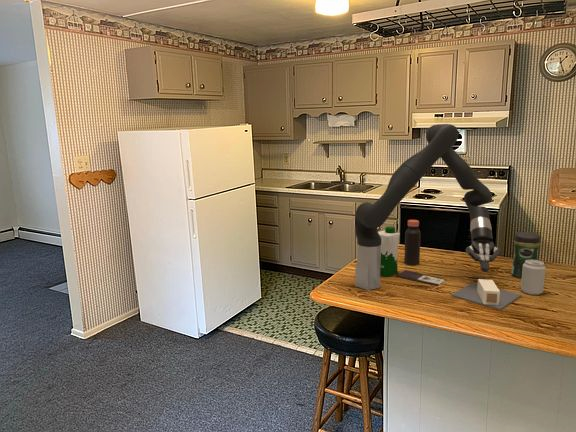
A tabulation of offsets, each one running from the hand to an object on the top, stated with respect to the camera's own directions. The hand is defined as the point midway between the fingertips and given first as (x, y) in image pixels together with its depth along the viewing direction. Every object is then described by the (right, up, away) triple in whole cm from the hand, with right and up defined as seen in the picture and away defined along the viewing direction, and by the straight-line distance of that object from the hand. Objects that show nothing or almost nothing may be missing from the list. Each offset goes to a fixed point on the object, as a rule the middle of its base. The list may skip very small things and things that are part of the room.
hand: (485, 270), depth 163 cm
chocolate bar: (-18, -6, +19) cm, 27 cm away
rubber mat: (0, -9, -1) cm, 9 cm away
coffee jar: (+25, -5, +20) cm, 32 cm away
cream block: (0, -6, +1) cm, 6 cm away
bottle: (-16, -2, +39) cm, 42 cm away
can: (+18, -9, +2) cm, 20 cm away
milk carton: (-31, -5, +26) cm, 41 cm away
